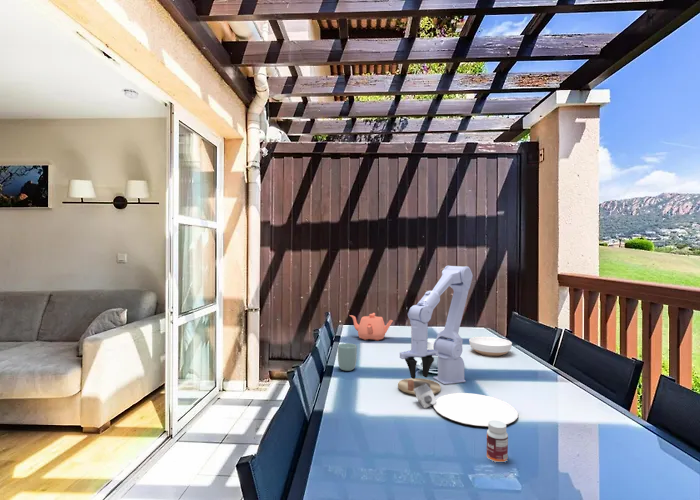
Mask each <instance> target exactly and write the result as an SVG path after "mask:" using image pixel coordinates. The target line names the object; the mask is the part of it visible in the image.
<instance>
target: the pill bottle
mask: <svg viewBox="0 0 700 500" xmlns="http://www.w3.org/2000/svg"><path fill="white" fill-rule="evenodd" d="M487 428H488V429H487V430H486V458H487V459H488V460H489V459H490V460H492V461H491V462H493V461H494V462H493V463H496V462H505V461H507V462H508V460H509V458H508V456H509V455H508V450H509V447H508V446H509V433H508V432H507V425H506V424H505V423H503V422H501V421H496V420H492V421H489V423H488V427H487ZM507 459H508V460H507ZM490 460H489V461H490ZM505 463H506V462H505Z"/></svg>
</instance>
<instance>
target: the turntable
mask: <svg viewBox="0 0 700 500" xmlns="http://www.w3.org/2000/svg"><path fill="white" fill-rule="evenodd" d="M425 383H426V384H427V385H428V386H429V387H430V388H431V390H432V392H433V394H434V395H435V394H438V393H439V392H441V387H442V386H441V385H440V383H439V382H437V381H434V380H431V379H426V378H419V377H417V378H416V377H415V379H413V378H411V377H409V378H405V379H402V380H399V381H398V382H397V388H398V389H399V390H400V391H402V392H404V393H406V394H410V395H415V396H416V394H415V392H414V390H413V389H415V388H417V387H419V386H421V385H423V384H425Z"/></svg>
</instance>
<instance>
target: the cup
mask: <svg viewBox="0 0 700 500" xmlns="http://www.w3.org/2000/svg"><path fill="white" fill-rule="evenodd" d="M357 349H358V348H357V344H355V343H348V342H346V343H345V342H344V343H340V344H338V345H337V362H338V367H339V368H340V370H342V371H346V372H347V371H348V372H350V371H353V370H354V369H355V368H356V364H357V356H358V355H357V354H358V351H357Z"/></svg>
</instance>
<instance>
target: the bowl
mask: <svg viewBox="0 0 700 500" xmlns="http://www.w3.org/2000/svg"><path fill="white" fill-rule="evenodd" d="M468 340H469V341H468V342H469V346H470V348H471V349H472V350H473V351H474V352H476V353H478V354H479V355H483V356H487V357H499V356H503V355H506V354H508V353H509V352H510V351H511V350H512V346H513V342H512V341H510V340H509V339H505V338H501V337H494V336H472V337H470V338H469V339H468Z"/></svg>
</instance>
